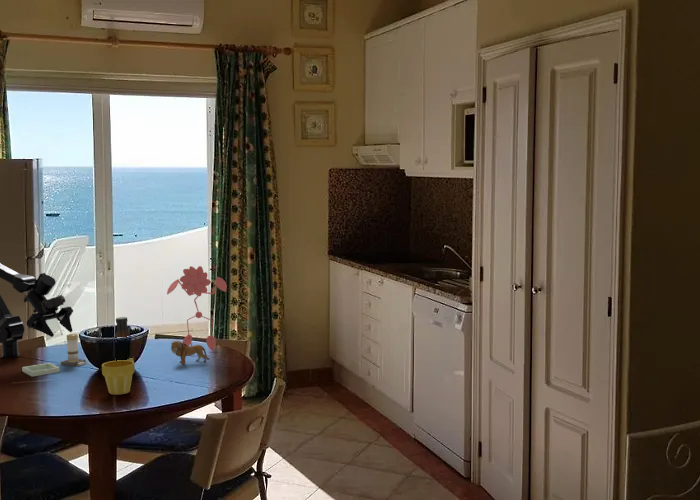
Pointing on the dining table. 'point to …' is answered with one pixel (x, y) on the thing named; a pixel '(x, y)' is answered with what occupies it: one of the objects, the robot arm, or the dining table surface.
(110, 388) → the plant pot
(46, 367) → the parts tray
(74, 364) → the fuse block
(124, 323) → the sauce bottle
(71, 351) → the beige round cylinder
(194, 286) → the figurine
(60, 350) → the dining table surface
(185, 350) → the lion figurine
